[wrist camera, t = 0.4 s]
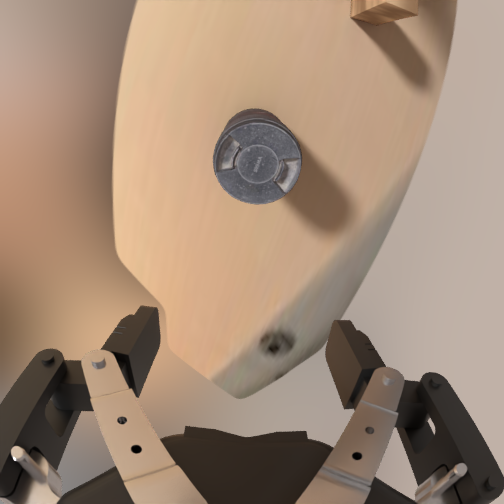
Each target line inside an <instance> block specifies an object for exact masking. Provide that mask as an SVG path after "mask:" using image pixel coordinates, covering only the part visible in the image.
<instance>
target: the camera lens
mask: <svg viewBox="0 0 504 504" xmlns="http://www.w3.org/2000/svg"><path fill="white" fill-rule="evenodd" d="M301 165H302V154H301V149H300V147H299V144H298V142H297V140H296V138H295V136H294V135H293V134H292V133H291V131H290V130H289V129H288V128H287V127H286V126H285V125H284V124H283V123H282V122H281V121H280V120H279V119H278V118H277V117H276V116H275V115H273V114H272V113H270V112H268V111H266V110H262V109H247V110H244V111H241V112H239V113H237V114H236V115H235V116H233V117H232V118H231V119H230V120H229V122H228V123H227V125H226V127H225V129H224V131H223V132H222V134H221V135H220V137H219V140H218V142H217V144H216V146H215V150H214V155H213V166H214V171H215V175H216V177H217V179H218V181H219V183H220V185H221V186H222V187H223V189H224V190H225V191H226V192H227V193H228V194H229V195H231V196H232V197H234V198H235V199H238V200H240V201H242V202H246V203H250V204H266V203H270V202H274V201H276V200H278V199H280V198H282V197H283V196H285V195H286V194H287V193H288V192H289V191H290V190H291V189H292V188H293V187H294V185H295V183H296V182H297V180H298V177H299V174H300V171H301Z"/></svg>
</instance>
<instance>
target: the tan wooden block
mask: <svg viewBox="0 0 504 504" xmlns="http://www.w3.org/2000/svg"><path fill="white" fill-rule="evenodd" d="M417 15H418V0H351V15H350V18H354V19H357V20H361V21H364V22H368V23H371V24H374V25H380V24H383V23H387V22H391V21H395V20H399V19H403V18H407V17H412V16H417Z"/></svg>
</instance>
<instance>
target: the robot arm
mask: <svg viewBox="0 0 504 504" xmlns="http://www.w3.org/2000/svg"><path fill="white" fill-rule="evenodd" d="M159 346H160V326H159V314H158V309H157V308H156V307H149V306H140V308H139V309H138V310H137V312H136V313H135V315H128V316H126V317H125V318H123V319H122V320H121V321H120V322H119V324H118V325H117V327H116V328H115V330H114V331H113V333H112V334H111V335H110V337H109V338H108V339H107V341H106V342H105V344H104V345H103V347H102V348H101V350H94V351H91V352H89V353H87V354H86V355H85V356H84V357H83V358H82V360H81V361H73V360H69V361H67V360H64V357H63V355H62V353H61V352H60V351H58V350H56V349H46V350H43V351H41V352H39V353H38V354H36V356H35V357H34V358H33V359H32V361H31V362H30V363H29V365H28V366H27V367H26V369H25V370H24V371H23V373H22V374H21V375H20V377H19V378H18V379H17V381H16V382H15V384H14V385H13V387H12V388H11V390H10V391H9V392H8V394H7V395H6V397H5V398H4V400H3V401H2V403H1V404H0V500H1V501H3V502H4V503H5V504H489V503H491V502H492V501H494V500H495V499H496V498H497V497H499V496H500V494H501V493H502V492H503V489H504V477H503V474H502V472H501V470H500V468H499V466H498V464H497V462H496V460H495V459H494V457H493V455H492V453H491V451H490V449H489V447H488V446H487V444H486V442H485V440H484V438H483V437H482V435H481V433H480V432H479V430H478V428H477V426H476V425H475V423H474V421H473V420H472V418H471V417H470V415H469V413H468V412H467V410H466V409H465V407H464V405H463V404H462V402H461V401H460V399H459V398H458V396H457V395H456V393H455V392H454V390H453V388H452V387H451V385H450V384H449V383H448V381H447V380H446V379H445V378H444V377H443V376H442V375H440V374H437V373H432V372H429V373H426V374H424V375H423V376H422V378H421V380H420V382H418V381H408V380H404V377H403V375H402V374H401V373H400V372H399V371H397V370H395V369H393V368H390V367H386V366H385V364H384V362H383V361H382V359H381V357H380V356H379V354H378V353H377V351H376V350H375V348H374V346H373V345H372V343H371V341H370V340H369V338H368V337H367V336H366V335H365V334H364V333H362V332H361V331H359V330H358V331H357V330H356V329H355V327H354V325H353V324H352V322H351V321H350V320H335V321H334V322H333V324H332V327H331V331H330V335H329V339H328V342H327V346H326V354H325V355H326V361H327V363H328V366H329V369H330V371H331V374H332V377H333V379H334V382H335V385H336V388H337V390H338V393H339V396H340V399H341V402H342V405H343V407H344V409H353V408H354V410H355V412H354V414H353V415H352V417H351V419H350V421H349V423H348V425H347V426H346V428H345V430H344V432H343V433H342V435H341V437H340V439H339V440H338V442H337V444H336V446H335V447H334V448H333V447H331V446H330V445H327V444H325V443H323V442H320V441H316V440H312V439H308V438H307V432H306V431H295V432H294V431H292V432H274V433H269V434H264V435H259V436H253V437H241V436H238V435H234V434H230V433H226V432H223V431H219V430H216V429H206V428H198V427H190V426H185V432H184V434H177V435H171V436H168V437H164V438H162V439H159V437H158V436H157V434H156V432H155V431H154V429H153V427H152V426H151V424H150V422H149V420H148V419H147V417H146V415H145V413H144V411H143V410H142V408H141V406H140V404H139V402H138V400H137V398H136V397H138V398H139V396H140V393H141V391H142V388H143V386H144V383H145V381H146V378H147V375H148V373H149V371H150V368H151V366H152V363H153V361H154V359H155V356H156V354H157V352H158V349H159ZM49 400H50V401H49ZM81 411H94V413H95V415H96V418H97V421H98V424H99V427H100V429H101V432H102V434H103V437H104V439H105V442H106V444H107V447H108V449H109V451H110V454H111V456H112V458H113V460H114V463H115V465H116V466H115V467H113V468H111V469H109V470H108V471H106V472H104V473H103V474H101V475H99V476H97V477H95V478H94V479H92V480H90V481H88V482H86V483H84V484H82V485H80V486H78V487H76V488H74V489H72V490H71V491H68V492H67V493H65V494H64V495H63V496H62V491H61V489H62V480H61V477H60V475H59V473H58V472H57V469H58V466H59V463H60V461H61V458H62V455H63V453H64V450H65V448H66V445H67V443H68V441H69V438H70V436H71V433H72V431H73V429H74V426H75V424H76V422H77V420H78V417H79V415H80V413H81ZM429 418H431V420H432V422H433V423H434V425H435V430H436V431H435V435H434V434H433V432H432V429H431V427H430V425H429V423H428V422H427V421H428V419H429ZM394 427H396V428H397V430H398V433H399V435H400V438H401V441H402V443H403V446H404V448H405V451H406V454H407V456H408V459H409V462H410V464H411V467H412V470H413V473H414V476H415V478H416V481H417V484H418V488H417V490H416V492H415V500H412V499H410V498H408V497H407V496H405V495H403V494H402V493H400V492H398V491H397V490H395V489H393V488H392V487H390V486H389V485H387V484H385V483H384V482H382V481H381V480H379V479H377V478H376V477H375V474H376V472H377V470H378V468H379V465H380V463H381V461H382V458H383V455H384V453H385V451H386V448H387V446H388V443H389V440H390V438H391V435H392V432H393V429H394Z"/></svg>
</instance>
